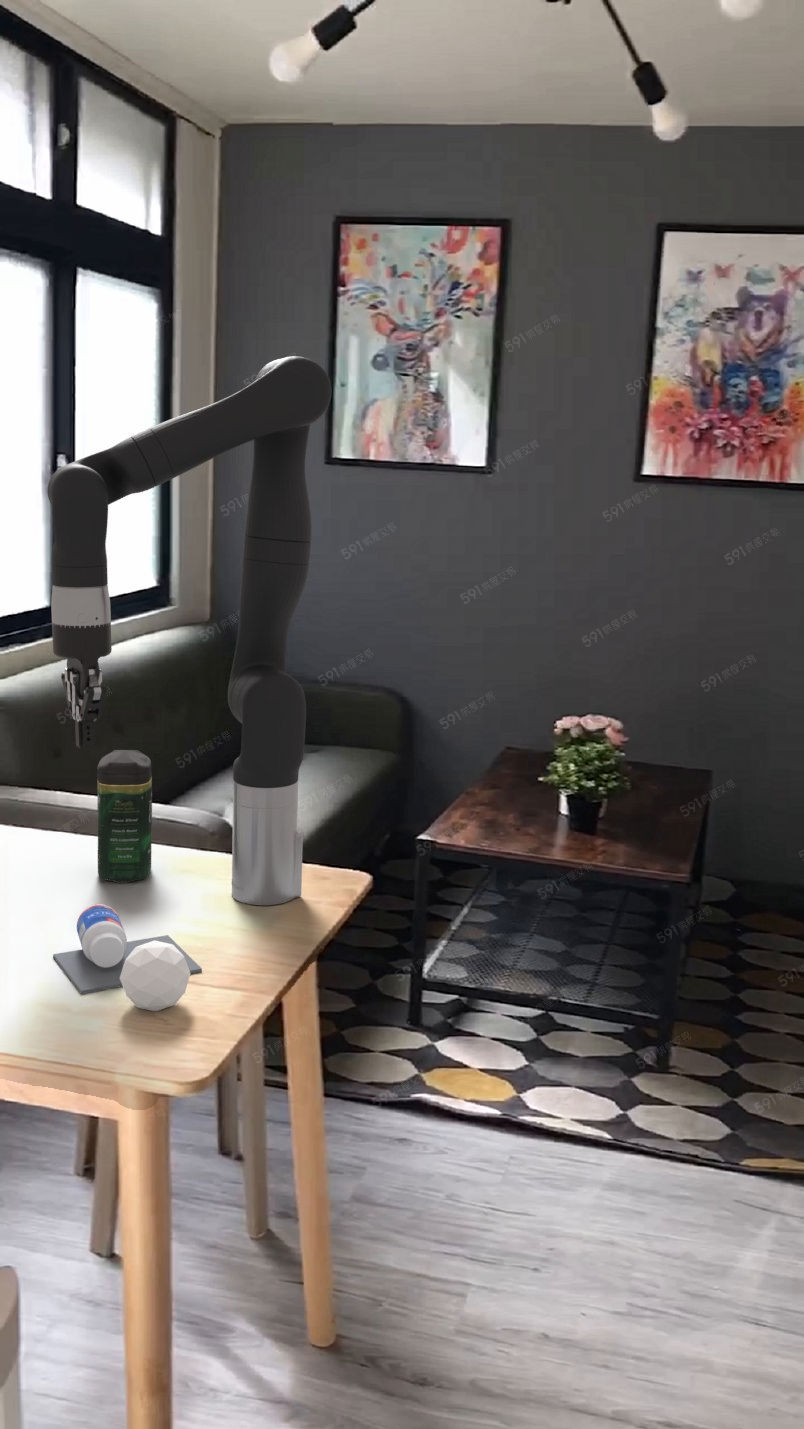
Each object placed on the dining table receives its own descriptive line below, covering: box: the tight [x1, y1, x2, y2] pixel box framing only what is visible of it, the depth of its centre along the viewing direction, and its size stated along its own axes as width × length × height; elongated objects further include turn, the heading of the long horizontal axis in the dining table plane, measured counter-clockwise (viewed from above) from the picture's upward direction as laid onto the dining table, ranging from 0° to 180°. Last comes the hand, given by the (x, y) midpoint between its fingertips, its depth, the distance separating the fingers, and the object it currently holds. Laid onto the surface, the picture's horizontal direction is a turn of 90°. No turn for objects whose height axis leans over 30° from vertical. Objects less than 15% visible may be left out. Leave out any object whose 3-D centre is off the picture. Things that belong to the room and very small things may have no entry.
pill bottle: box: [76, 903, 128, 968], centre depth 156 cm, size 6×5×10 cm
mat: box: [52, 934, 203, 995], centre depth 156 cm, size 15×12×1 cm
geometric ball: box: [120, 940, 191, 1012], centre depth 144 cm, size 8×8×8 cm
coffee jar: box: [96, 749, 153, 884], centre depth 187 cm, size 10×8×19 cm
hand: (85, 747), depth 169 cm, fingers closed
